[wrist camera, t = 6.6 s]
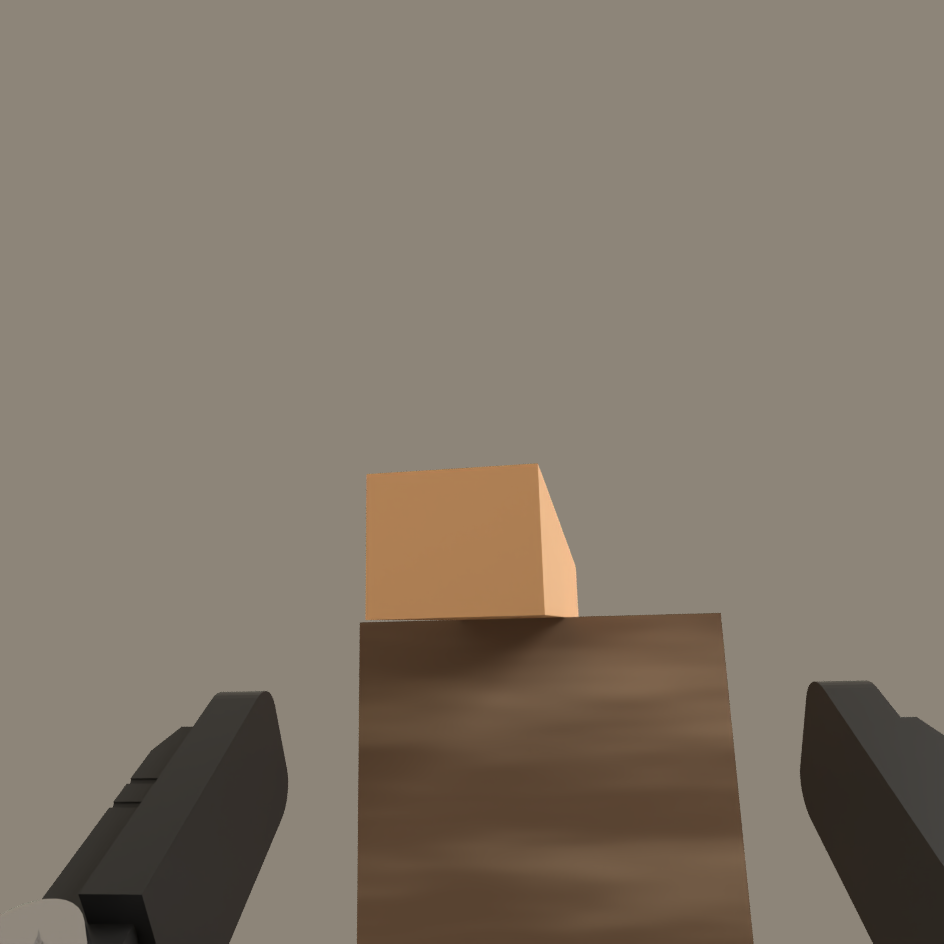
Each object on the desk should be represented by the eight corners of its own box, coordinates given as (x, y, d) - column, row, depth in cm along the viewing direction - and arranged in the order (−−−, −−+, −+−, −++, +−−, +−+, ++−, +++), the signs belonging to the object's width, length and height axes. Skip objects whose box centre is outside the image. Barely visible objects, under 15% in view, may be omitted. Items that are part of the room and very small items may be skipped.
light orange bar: (544, 615, 13) (537, 463, 14) (365, 620, 14) (366, 474, 15) (578, 618, 40) (575, 566, 41) (517, 620, 41) (515, 568, 42)
